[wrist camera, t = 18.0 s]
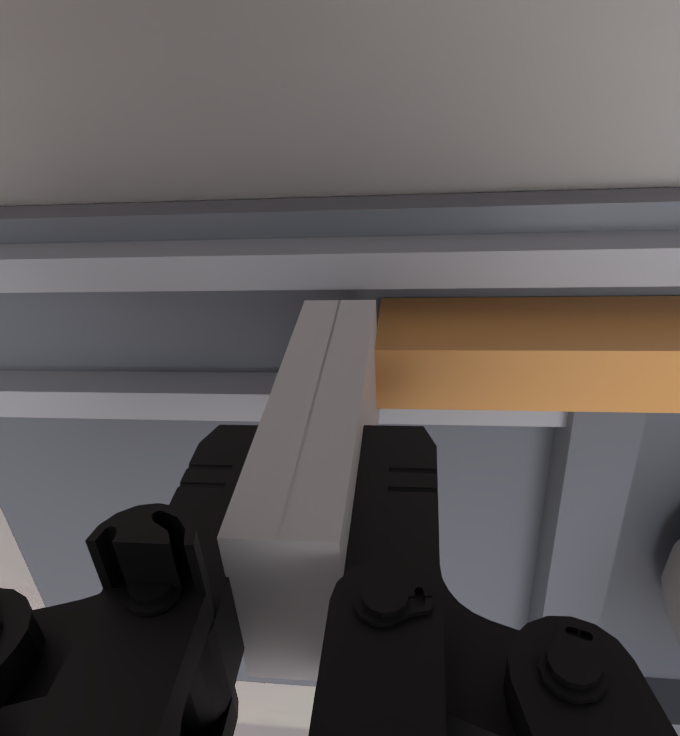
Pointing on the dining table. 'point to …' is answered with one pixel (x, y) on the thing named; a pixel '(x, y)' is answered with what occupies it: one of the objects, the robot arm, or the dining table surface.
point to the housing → (446, 427)
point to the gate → (529, 354)
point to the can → (672, 589)
